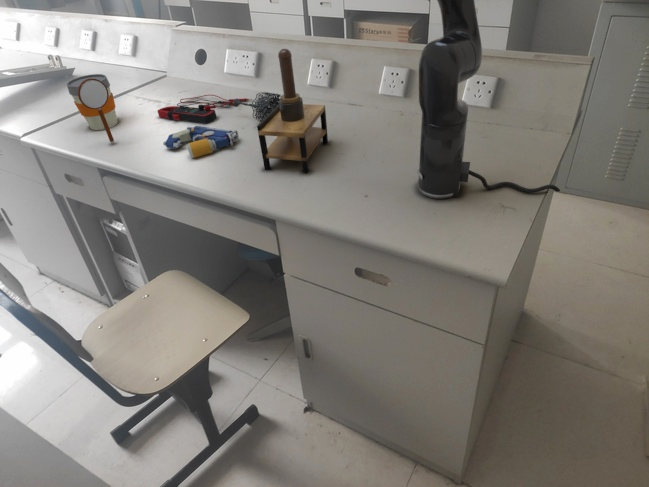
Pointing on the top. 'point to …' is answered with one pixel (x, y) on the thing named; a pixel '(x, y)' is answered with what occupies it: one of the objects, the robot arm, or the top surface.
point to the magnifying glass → (95, 99)
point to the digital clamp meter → (194, 111)
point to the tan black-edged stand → (292, 135)
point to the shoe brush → (289, 90)
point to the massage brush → (262, 104)
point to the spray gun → (201, 139)
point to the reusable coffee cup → (93, 114)
